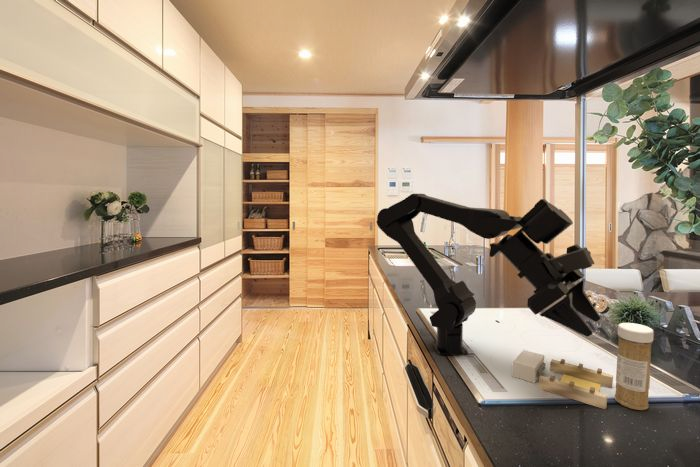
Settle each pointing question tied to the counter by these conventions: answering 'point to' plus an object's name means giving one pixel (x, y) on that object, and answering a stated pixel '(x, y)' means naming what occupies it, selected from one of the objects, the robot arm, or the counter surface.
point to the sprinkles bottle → (633, 365)
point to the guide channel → (575, 391)
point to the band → (580, 382)
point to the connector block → (528, 366)
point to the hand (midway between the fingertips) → (594, 327)
